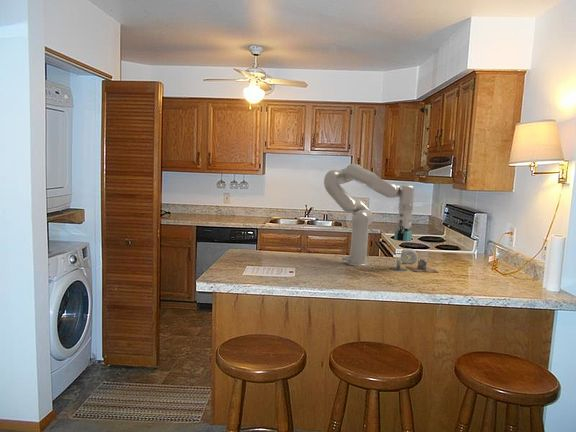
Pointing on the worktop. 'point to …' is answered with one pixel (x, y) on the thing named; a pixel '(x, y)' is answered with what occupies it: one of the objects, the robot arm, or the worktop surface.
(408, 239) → the collar
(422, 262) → the hub board
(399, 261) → the stand
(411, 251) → the donut
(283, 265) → the worktop surface
